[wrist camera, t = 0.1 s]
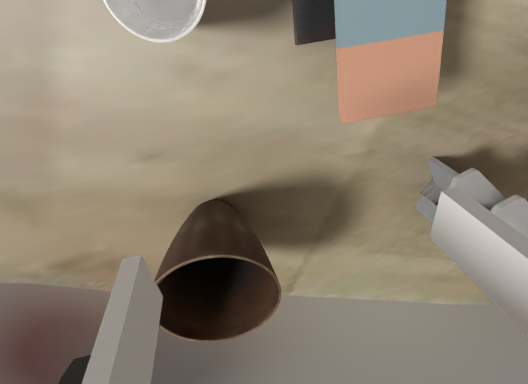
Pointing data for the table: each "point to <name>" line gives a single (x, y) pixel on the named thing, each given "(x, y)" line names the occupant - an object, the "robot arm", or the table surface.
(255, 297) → the plant pot
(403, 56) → the balance beam
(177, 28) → the white cup
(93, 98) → the table surface
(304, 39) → the pivot stand
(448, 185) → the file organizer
